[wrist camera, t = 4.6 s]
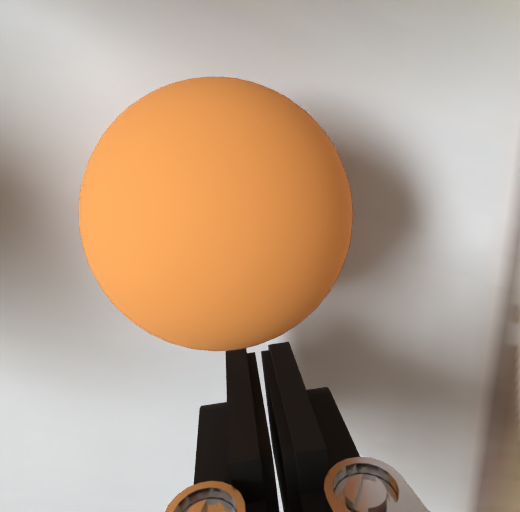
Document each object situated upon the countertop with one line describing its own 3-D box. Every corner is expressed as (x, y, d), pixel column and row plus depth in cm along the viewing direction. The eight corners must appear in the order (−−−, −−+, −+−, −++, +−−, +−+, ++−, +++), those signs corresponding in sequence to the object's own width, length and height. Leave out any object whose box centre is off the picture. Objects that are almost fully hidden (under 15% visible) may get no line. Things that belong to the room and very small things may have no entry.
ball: (133, 262, 4) (127, -52, 6) (44, 385, 8) (62, 163, 10) (454, 299, 7) (367, 77, 9) (274, 375, 11) (245, 205, 13)
